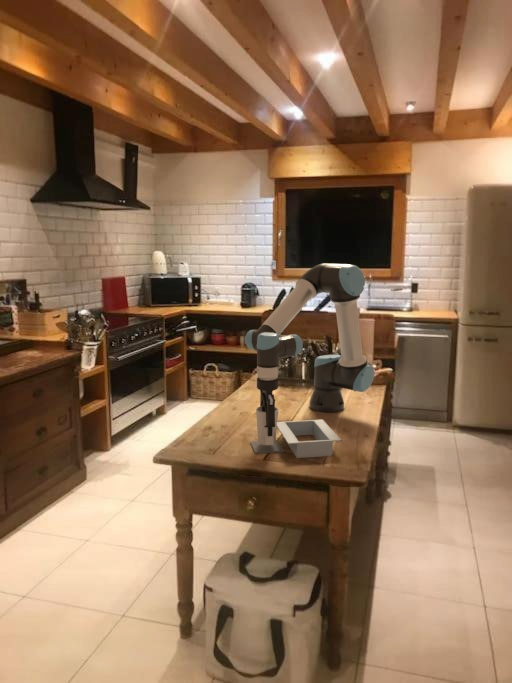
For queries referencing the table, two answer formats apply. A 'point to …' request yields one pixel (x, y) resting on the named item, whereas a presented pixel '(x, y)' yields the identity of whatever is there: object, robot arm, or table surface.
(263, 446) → the pad
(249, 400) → the table surface
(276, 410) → the cup
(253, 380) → the table surface
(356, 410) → the table surface
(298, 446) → the rectangular frame
